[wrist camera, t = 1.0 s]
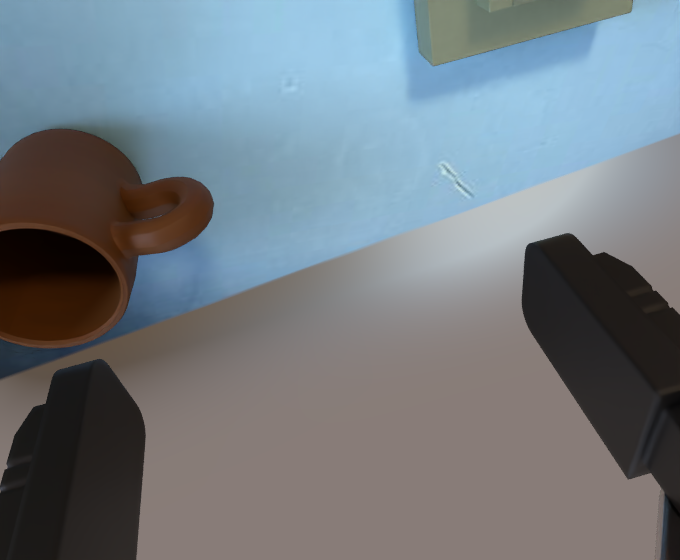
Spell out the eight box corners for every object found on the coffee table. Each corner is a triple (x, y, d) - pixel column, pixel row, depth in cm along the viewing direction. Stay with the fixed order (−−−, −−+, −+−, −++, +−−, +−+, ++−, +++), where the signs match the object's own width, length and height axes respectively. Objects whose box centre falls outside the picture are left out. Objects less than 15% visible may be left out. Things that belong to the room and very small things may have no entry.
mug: (177, 72, 29) (172, 153, 21) (236, 190, 33) (247, 288, 26) (-33, 152, 29) (-108, 258, 22) (56, 257, 34) (19, 371, 27)
